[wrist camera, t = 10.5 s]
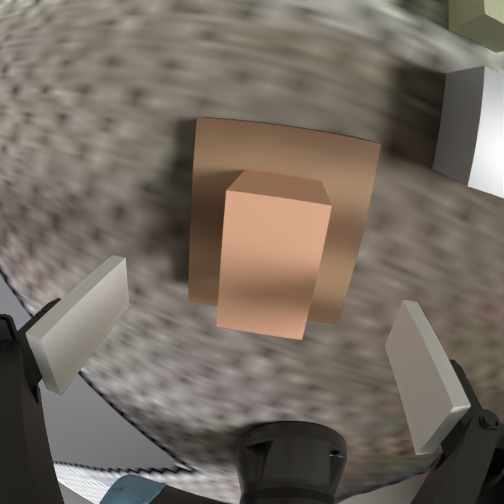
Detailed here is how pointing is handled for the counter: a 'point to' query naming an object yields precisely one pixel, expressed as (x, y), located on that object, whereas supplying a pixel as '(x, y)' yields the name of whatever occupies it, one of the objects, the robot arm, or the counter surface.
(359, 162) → the walnut board
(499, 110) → the grey brick
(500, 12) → the olive brick
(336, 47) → the counter surface
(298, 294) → the terracotta brick
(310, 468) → the robot arm
